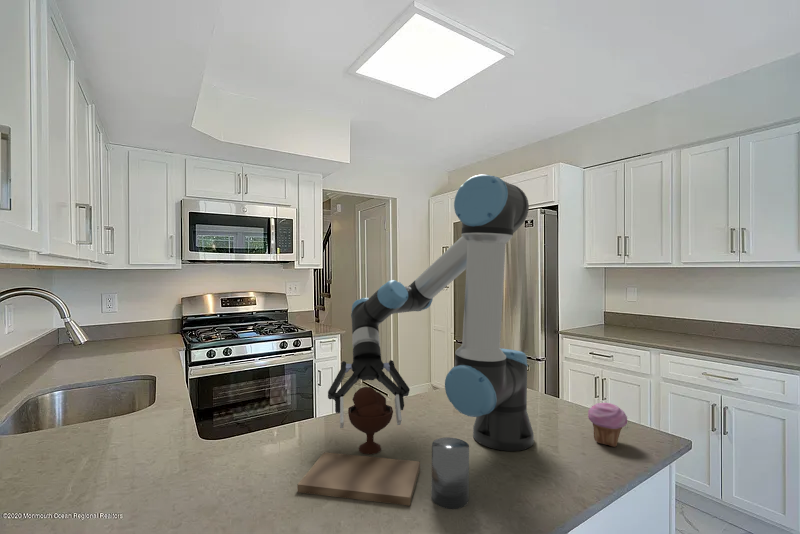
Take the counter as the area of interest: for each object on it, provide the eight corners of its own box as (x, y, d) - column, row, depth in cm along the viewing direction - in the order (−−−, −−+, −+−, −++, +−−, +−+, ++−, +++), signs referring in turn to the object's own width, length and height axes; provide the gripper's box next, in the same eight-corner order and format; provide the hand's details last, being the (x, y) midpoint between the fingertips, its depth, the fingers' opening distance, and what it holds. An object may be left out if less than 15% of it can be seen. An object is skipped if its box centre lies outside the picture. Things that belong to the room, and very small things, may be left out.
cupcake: (584, 443, 101) (584, 404, 101) (591, 432, 107) (592, 395, 108) (624, 453, 95) (624, 411, 95) (629, 441, 102) (629, 402, 102)
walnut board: (419, 468, 87) (420, 461, 87) (410, 505, 73) (410, 497, 73) (323, 458, 91) (323, 452, 91) (297, 492, 77) (297, 484, 77)
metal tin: (468, 490, 78) (469, 439, 79) (468, 511, 72) (469, 455, 72) (433, 486, 80) (433, 436, 80) (429, 506, 73) (430, 451, 73)
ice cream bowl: (387, 461, 90) (388, 394, 90) (340, 456, 92) (341, 391, 92) (397, 442, 100) (397, 382, 100) (354, 437, 102) (355, 379, 102)
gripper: (409, 354, 114) (420, 428, 99) (320, 356, 109) (317, 433, 94) (413, 339, 108) (425, 414, 93) (319, 340, 104) (316, 419, 89)
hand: (371, 424), depth 94 cm, fingers open, 13 cm apart
